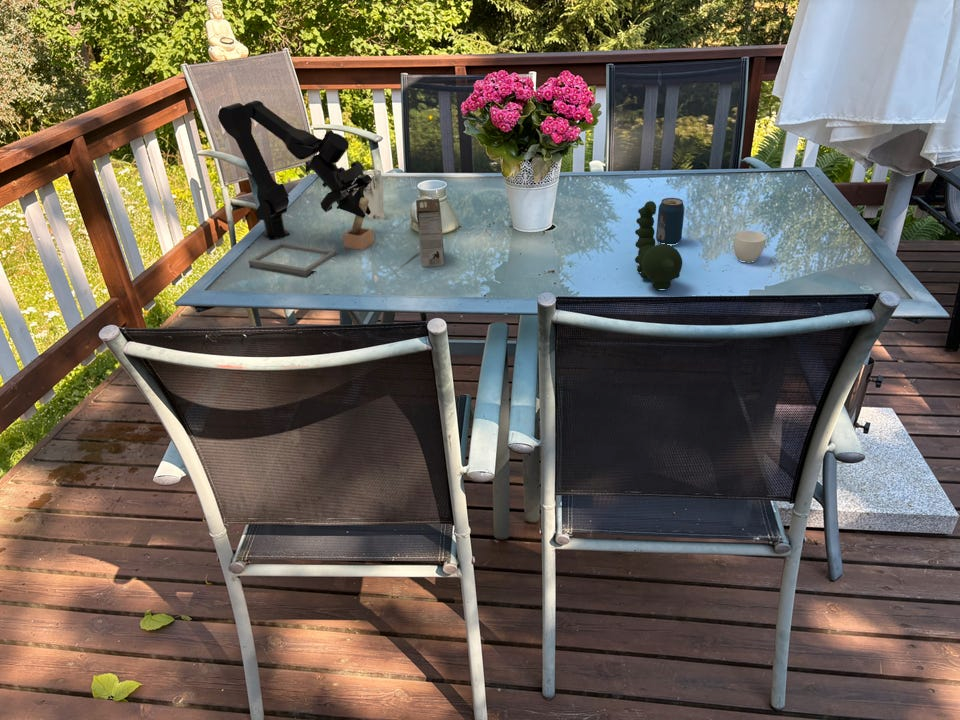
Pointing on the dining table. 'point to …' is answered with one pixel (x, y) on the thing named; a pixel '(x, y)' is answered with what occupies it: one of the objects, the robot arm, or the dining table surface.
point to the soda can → (670, 221)
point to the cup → (749, 245)
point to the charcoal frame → (287, 269)
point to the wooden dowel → (358, 219)
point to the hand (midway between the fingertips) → (367, 215)
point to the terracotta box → (359, 239)
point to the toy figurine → (655, 252)
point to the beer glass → (375, 194)
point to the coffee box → (430, 232)
